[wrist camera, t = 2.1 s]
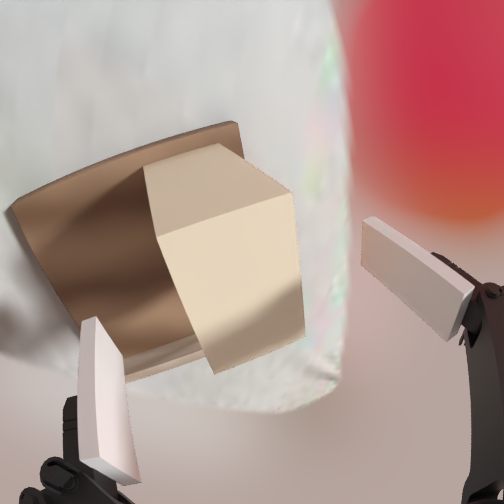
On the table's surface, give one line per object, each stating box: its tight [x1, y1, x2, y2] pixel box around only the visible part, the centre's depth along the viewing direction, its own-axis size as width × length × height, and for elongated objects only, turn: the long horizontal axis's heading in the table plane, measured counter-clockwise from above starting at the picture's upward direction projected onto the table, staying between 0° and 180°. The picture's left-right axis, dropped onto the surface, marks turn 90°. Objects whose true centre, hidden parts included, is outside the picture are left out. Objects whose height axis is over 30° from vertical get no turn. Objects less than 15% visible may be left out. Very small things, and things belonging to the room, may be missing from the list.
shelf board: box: [11, 121, 245, 384], centre depth 22 cm, size 17×16×4 cm
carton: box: [143, 143, 306, 374], centre depth 17 cm, size 8×5×10 cm, turn 10°
